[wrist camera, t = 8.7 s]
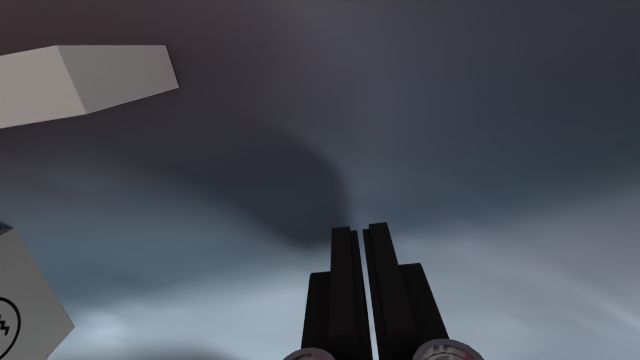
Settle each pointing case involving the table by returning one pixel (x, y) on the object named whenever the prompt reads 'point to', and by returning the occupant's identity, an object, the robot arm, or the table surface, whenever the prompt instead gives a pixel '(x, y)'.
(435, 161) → the table surface
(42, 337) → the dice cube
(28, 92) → the box
